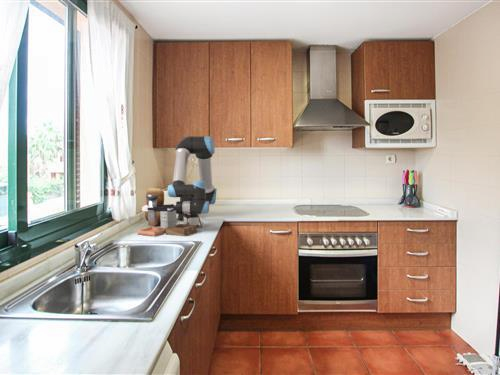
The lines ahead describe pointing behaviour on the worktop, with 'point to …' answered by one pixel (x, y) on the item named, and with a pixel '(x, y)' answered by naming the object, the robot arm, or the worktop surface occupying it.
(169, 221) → the supplement box
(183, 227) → the bore block
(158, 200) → the butternut squash
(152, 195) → the metal plug
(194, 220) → the spread jar
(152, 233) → the tray
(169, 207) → the robot arm
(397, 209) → the worktop surface
